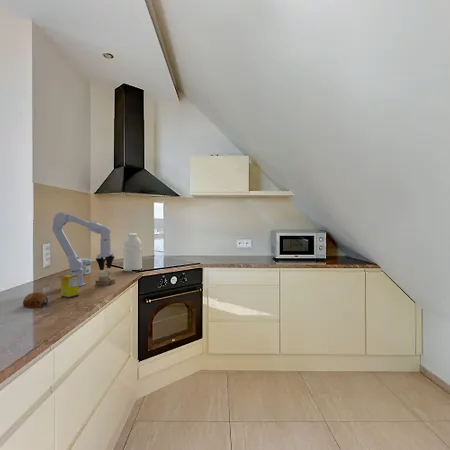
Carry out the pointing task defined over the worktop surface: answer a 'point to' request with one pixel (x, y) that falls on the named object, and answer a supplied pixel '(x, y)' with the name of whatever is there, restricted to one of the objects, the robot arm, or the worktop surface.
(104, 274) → the maple cube
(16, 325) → the worktop surface
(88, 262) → the light bulb box
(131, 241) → the bottle
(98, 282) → the walnut block
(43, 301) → the bread roll
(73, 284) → the supplement box
